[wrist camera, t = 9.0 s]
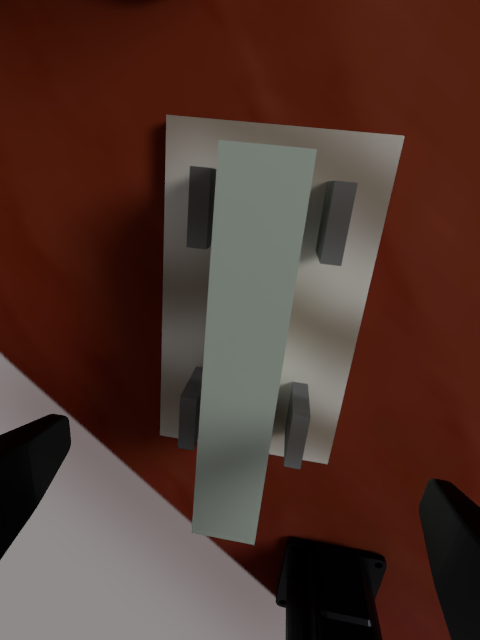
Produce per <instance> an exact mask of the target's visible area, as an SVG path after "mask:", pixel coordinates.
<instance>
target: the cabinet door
mask: <svg viewBox="0 0 480 640" xmlns="http://www.w3.org/2000/svg"><path fill="white" fill-rule="evenodd" d="M316 153H317V149H310V148H300V147H289V146H279V145H268V144H258V143H247V142H237V141H226V140H218V155H217V169H216V184H215V198H214V213H213V228H212V242H211V257H210V272H209V286H208V301H207V316H206V330H205V345H204V359H203V374H202V389H201V403H200V418H199V433H198V447H197V462H196V477H195V491H194V506H193V520H192V533H196V534H202V535H206V536H211V537H216V538H222V539H227V540H232V541H237V542H242V543H247V544H252V545H254V544H255V537H256V531H257V525H258V519H259V512H260V506H261V500H262V493H263V487H264V481H265V474H266V468H267V462H268V456H269V449H270V443H271V437H272V430H273V424H274V418H275V411H276V405H277V399H278V393H279V386H280V380H281V374H282V367H283V361H284V355H285V348H286V342H287V336H288V330H289V323H290V317H291V311H292V304H293V298H294V292H295V285H296V279H297V273H298V267H299V260H300V254H301V248H302V241H303V235H304V229H305V223H306V216H307V210H308V204H309V197H310V191H311V185H312V178H313V172H314V166H315V160H316Z"/></svg>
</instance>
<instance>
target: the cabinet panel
mask: <svg viewBox="0 0 480 640" xmlns="http://www.w3.org/2000/svg"><path fill="white" fill-rule="evenodd" d="M404 137H405V136H400V135H388V134H377V133H366V132H354V131H343V130H332V129H321V128H309V127H298V126H287V125H275V124H264V123H253V122H242V121H230V120H219V119H208V118H196V117H185V116H174V115H166V158H165V208H164V258H163V308H162V358H161V408H160V435H162V436H168V437H173V438H178V448H182V449H187V450H194V448H195V445H196V442H198V433H199V418H200V403H201V389H202V374H203V359H204V345H205V330H206V316H207V301H208V286H209V272H210V257H211V242H212V228H213V213H214V198H215V184H216V169H217V155H218V140H226V141H237V142H247V143H258V144H268V145H279V146H289V147H300V148H310V149H317V153H316V160H315V166H314V172H313V178H312V185H311V191H310V197H309V204H308V210H307V216H306V223H305V229H304V235H303V241H302V248H301V254H300V260H299V267H298V273H297V279H296V285H295V292H294V298H293V304H292V311H291V317H290V323H289V330H288V336H287V342H286V348H285V355H284V361H283V367H282V374H281V380H280V386H279V393H278V399H277V405H276V411H275V418H274V424H273V430H272V437H271V443H270V449H269V454H272V455H277V456H283V457H284V467H290V468H296V469H300V468H301V463H302V460H306V461H312V462H318V463H324V464H328V460H329V456H330V452H331V447H332V443H333V439H334V435H335V430H336V426H337V422H338V418H339V413H340V409H341V405H342V401H343V396H344V392H345V388H346V384H347V379H348V375H349V371H350V367H351V362H352V358H353V354H354V350H355V345H356V341H357V337H358V333H359V328H360V324H361V320H362V316H363V311H364V307H365V303H366V299H367V294H368V290H369V286H370V281H371V277H372V273H373V269H374V264H375V260H376V256H377V252H378V247H379V243H380V239H381V235H382V230H383V226H384V222H385V218H386V213H387V209H388V205H389V201H390V196H391V192H392V188H393V184H394V179H395V175H396V171H397V167H398V162H399V158H400V154H401V150H402V145H403V141H404Z"/></svg>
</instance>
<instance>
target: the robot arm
mask: <svg viewBox="0 0 480 640" xmlns="http://www.w3.org/2000/svg"><path fill="white" fill-rule="evenodd" d="M70 445H71V437H70V426H69V420H68V418H67V417H66V416H63V415H57V414H50V415H47V416H45V417H42V418H40V419H38V420H35V421H33V422H31V423H28V424H26V425H24V426H21V427H19V428H16V429H14V430H11V431H9V432H7V433H4V434H2V435H0V560H1V558H2V557H3V555H4V554H5V552H6V551H7V549H8V548H9V547H10V545H11V544H12V542H13V541H14V539H15V538H16V536H17V535H18V533H19V532H20V531H21V529H22V528H23V526H24V525H25V524H26V522H27V521H28V519H29V518H30V516H31V515H32V513H33V512H34V510H35V509H36V508H37V506H38V504H39V502H40V501H41V499H42V497H43V496H44V494H45V492H46V490H47V489H48V487H49V485H50V483H51V482H52V480H53V478H54V476H55V475H56V473H57V471H58V469H59V468H60V466H61V464H62V462H63V460H64V459H65V457H66V455H67V453H68V451H69V449H70ZM419 514H420V519H421V524H422V529H423V533H424V538H425V543H426V548H427V553H428V557H429V562H430V567H431V572H432V576H433V581H434V585H435V588H436V592H437V595H438V599H439V602H440V605H441V608H442V611H443V615H444V618H445V621H446V624H447V627H448V631H449V634H450V637H451V640H480V507H479V506H477V505H476V504H475V503H474V502H473V501H472V500H471V499H469V498H468V497H467V496H466V495H465V494H464V493H463V492H461V491H460V490H459V489H458V488H457V487H456V486H454V485H453V484H452V483H451V482H449V481H446V480H440V479H430V480H429V481H428V483H427V486H426V488H425V491H424V494H423V497H422V499H421V502H420V506H419ZM386 566H387V565H386V561H385V558H384V557H383V556H382V555H379V554H374V553H369V552H364V551H358V550H353V549H348V548H343V547H338V546H333V545H327V544H322V543H317V542H312V541H307V540H301V539H296V538H291V539H289V540H288V541H287V544H286V549H285V554H284V558H283V563H282V568H281V573H280V578H279V583H278V588H277V593H276V603H277V605H279V606H281V607H285V608H286V640H382V635H381V630H380V625H379V620H378V615H377V610H376V605H375V598H376V595H377V592H378V589H379V587H380V584H381V581H382V578H383V575H384V573H385V570H386Z"/></svg>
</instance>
